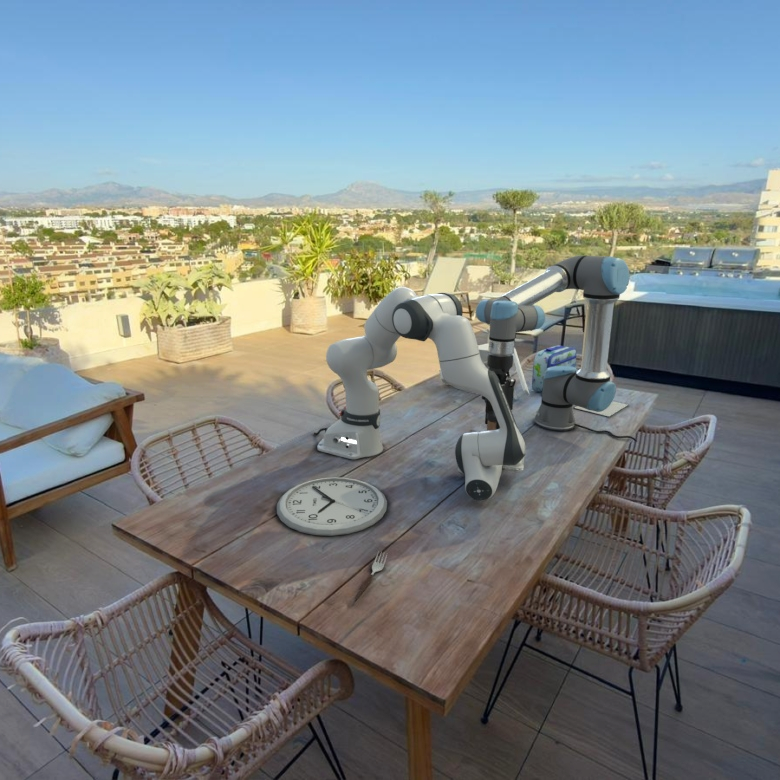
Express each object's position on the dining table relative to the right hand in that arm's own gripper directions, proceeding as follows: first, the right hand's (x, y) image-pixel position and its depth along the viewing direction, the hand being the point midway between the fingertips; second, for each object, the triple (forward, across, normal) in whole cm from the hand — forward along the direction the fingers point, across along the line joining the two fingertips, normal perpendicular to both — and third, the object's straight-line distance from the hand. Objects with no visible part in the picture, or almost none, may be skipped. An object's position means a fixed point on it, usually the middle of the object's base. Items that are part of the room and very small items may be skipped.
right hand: (494, 426), depth 162 cm
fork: (+14, +36, -57) cm, 69 cm away
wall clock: (+14, +3, -54) cm, 56 cm away
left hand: (+8, -1, +1) cm, 8 cm away
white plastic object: (+14, -69, +42) cm, 82 cm away
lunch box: (+14, -59, +76) cm, 97 cm away
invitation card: (+14, -32, +80) cm, 87 cm away
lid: (-4, 0, 0) cm, 4 cm away
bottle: (+14, 0, 0) cm, 14 cm away
